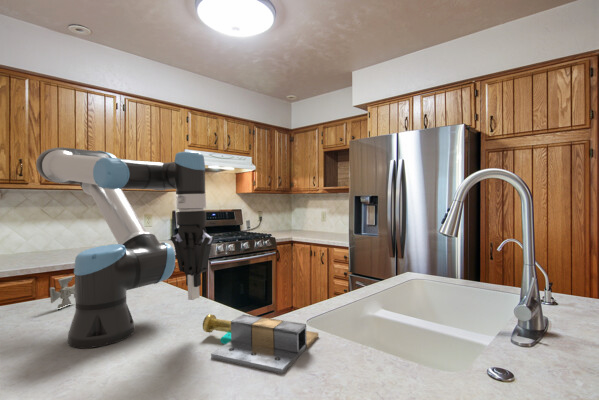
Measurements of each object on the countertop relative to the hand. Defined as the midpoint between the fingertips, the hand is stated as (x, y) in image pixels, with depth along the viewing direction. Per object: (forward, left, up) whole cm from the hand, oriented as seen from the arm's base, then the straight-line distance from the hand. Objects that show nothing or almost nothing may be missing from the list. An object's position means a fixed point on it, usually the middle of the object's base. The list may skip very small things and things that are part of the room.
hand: (193, 298), depth 91 cm
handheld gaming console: (+16, +2, -10) cm, 19 cm away
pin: (+15, 0, -8) cm, 17 cm away
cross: (-56, 0, -9) cm, 57 cm away
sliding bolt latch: (+23, 0, -9) cm, 24 cm away
